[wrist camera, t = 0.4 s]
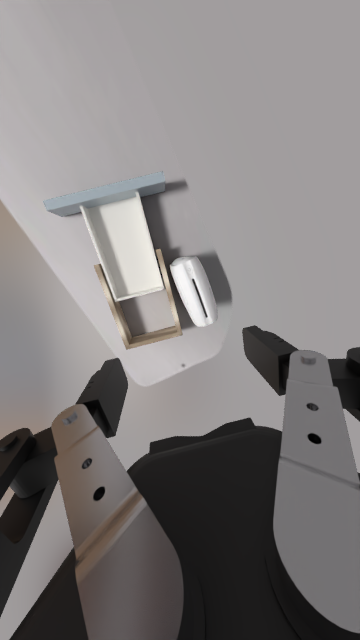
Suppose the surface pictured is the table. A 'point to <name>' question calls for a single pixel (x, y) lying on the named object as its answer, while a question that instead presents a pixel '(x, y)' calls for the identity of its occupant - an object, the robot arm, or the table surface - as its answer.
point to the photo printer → (194, 290)
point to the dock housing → (120, 319)
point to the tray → (119, 232)
